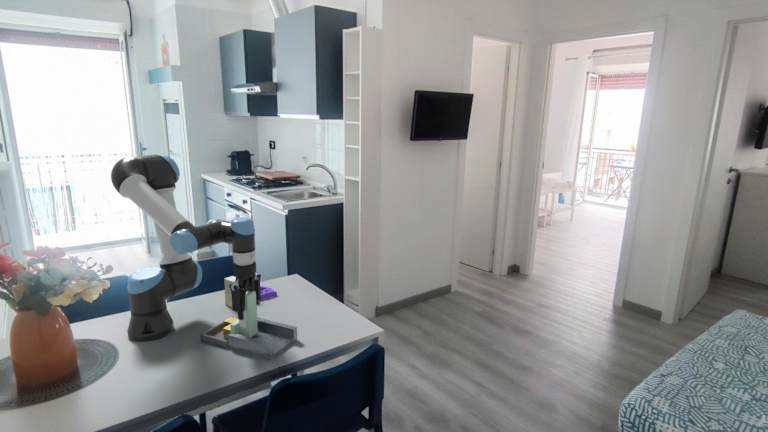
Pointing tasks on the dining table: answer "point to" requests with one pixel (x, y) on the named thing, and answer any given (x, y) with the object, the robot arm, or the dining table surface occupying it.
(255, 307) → the mint t-shaped block
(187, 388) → the dining table surface
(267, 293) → the bracket
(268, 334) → the slot rail
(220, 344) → the chip tray
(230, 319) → the dull yellow cube
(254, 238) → the robot arm
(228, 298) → the skincare box
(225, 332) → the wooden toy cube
